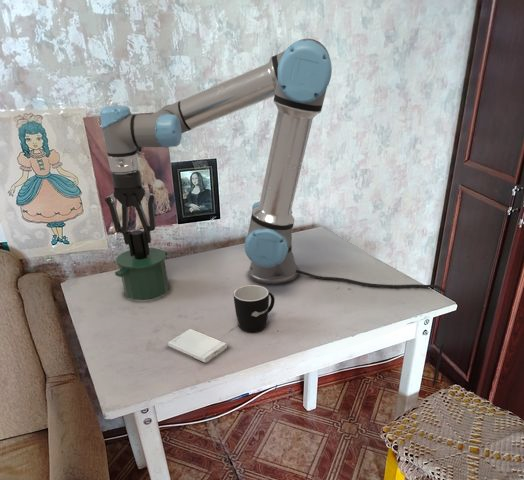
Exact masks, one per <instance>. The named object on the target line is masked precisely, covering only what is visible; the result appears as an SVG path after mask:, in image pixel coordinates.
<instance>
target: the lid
mask: <svg viewBox="0 0 524 480" xmlns="http://www.w3.org/2000/svg"><path fill="white" fill-rule="evenodd" d="M142 233H143V230H141V229H134V230H131V232H130V236H131V241H132V246H133V252H134V256H131V254H130V249H129V250H126V251H124V252H122V253H120V254H119V255H117V257H116V259H115V262H116V265H117V266H118V267H119V266H120V267H123V268H127V269H143V268H148V267H152V266H155V265H158V264H160V263H161V262H163V261H164V260H165V261H166V257H167V255H165V252H166V251H165V250H162V249H159V248H155V247H149V251H150V252H149V255H146V252H145V247H144V241H143V235H142ZM164 251H165V252H164Z"/></svg>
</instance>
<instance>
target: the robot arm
mask: <svg viewBox="0 0 524 480" xmlns="http://www.w3.org/2000/svg"><path fill="white" fill-rule="evenodd" d="M332 71H333V66H332V61H331V57H330V54H329V52H328V50H327V48H326V47H325V45H324V44H323V43H321V42H320V41H318V40H316V39H312V38H301V39H299V40H297V41H295V42H293V43H291V44H290V45H288V47H287V48H286V49H284V50H283V51H281V52H279V53H276V54H275V55H273V56H271V57H270V58H269V60H268V63H264V64H262V65H260V66H258V67H255V68H253V69H251V70H249V71H246V72H244V73H242V74H239V75H237V76H235V77H232V78H230V79H228V80H225V81H223V82H221V83H218V84H216V85H213V86H211V87H209V88H206V89H204V90H202V91H199V92H197V93H195V94H192V95H190V96H188V97H185V98H183V99H181V100H179V101H176V102H174V103H171V104H167V105H165V106H163V107H161V109H159V110H157V111H155V112H154V113H151V114H132V112H131V109H130V107H129V106H128V105H121V104H119V105H116V104H115V105H108V106H103V107H102V108H101V109H100V111H99V116H100V123H101V130H102V134H103V139H104V144H105V148H106V154H107V160H108V165H109V170H110V171H111V172H112V173H111V174H110V175H111V180H112V187H113V192H112V193H111V194H110V195H109V194H108V195H106V197H105V198H104V201H105V203H106V205H107V206H108V208H109V212H110V215H111V219H112V223H113V226H114V231H115V232H116V233H117V234H118V233H121V234H122V236H123V240H124V241H123V242H124V245H125V246H127V245H128V248H129V250H130V254H131V256H134V252H133V246H132V241H131V236H130V232H132V230H129V208H130V207H133V208H135V210H136V213H137V215H138V218H139V220H140V223H141V226H142V229H143V230H142V231H143V233H142V235H143V241H144V247H145V252H146V255H149V252H150V251H149V248H150V245H149V244H151V243H152V236H151V232H152V231H155V229H156V226H157V225H156V216H155V205H154V203H155V202H154V201H155V197H156V194H155V193H154V192H147V191H146V189H145V188H144V186H143V181H142V174H141V171H140V170H139V169H140V162H139V156H138V150H137V148H165V149H168V148H172V147H173V148H174V147H178V146H179V145H180V144H181V142H182V135H183V134H184V133H187V132H189V131H192V130H193V129H196V128H198V127H201V126H203V125H207V124H208V123H212V122H213V121H216V120H218V119H220V118H224V117H226V116H228V115H231V114H234V113H237V112H239V111H242V110H243V109H246V108H248V107H251V106H253V105H256V104H258V103H261V102H263V101H266V100H269V99H272V98H273V103H274V105H275V106H276V108H277V114H276V119H275V123H274V129H273V134H272V138H271V145H270V149H269V155H268V158H267V164H266V169H265V174H264V179H263V184H262V189H261V193H260V200H259V201H257V202H254V203H253V204H252V208H251V216H250V221H249V226H248V231H247V236H246V238H245V240H244V252H245V255H246V256H247V258H248V260H250V265H249V270H248V272H249V277H250V279H251V280H252V281H254V282H256V283H259V284H263V285H282V284H286V283H289V282H292V281H293V280H295V279H296V278H297V277H298V274H300V275H304V276H307V277H310V278H314V279H318V280H327V281H340V282H345V283H346V282H347V283H352V284H356V285H360V286H364V287H365V286H367V287H375V288H388V289H389V288H393V289H402V288H403V289H404V288H421V289H422V288H425V289H426V288H427V289H429V288H431V289H437V290H439V291H440V292H441V293H445V294H446V293H447V292H446V290H445V289H444V288H443V287H441V286H440V285H437V284H418V283H417V284H416V283H415V284H413V283H412V284H383V283H382V284H380V283H371V282H370V283H369V282H364V281H359V280H354V279H350V278H344V277H338V276H337V277H336V276H322V275H315V274H312V273H309V272H307V271H302V270H298V265H297V263H296V260H295V257H294V253H293V249H292V247H293V246H292V245H293V244H292V243H293V241H292V239H293V238H292V237H293V236H292V234H293V233H292V232H293V229H294V223H295V217H294V216H293V211H292V210H293V209H292V208H293V204H294V200H295V196H296V191H297V188H298V183H299V180H300V175H301V172H302V171H301V170H302V166H303V162H304V157H305V154H306V149H307V146H308V141H309V136H310V132H311V128H312V124H313V121H314V118H315V117H316V116H318V115H319V114H321V112H322V109H323V105H324V101H325V97H326V93H327V89H328V86H329V85H330V83H331V78H332V73H333V72H332ZM144 197H145V200H146V202H147V207H148V208H147V209H148V219H149V222H148V219H147V217H146V214H145V211H144V208H143V205H142V201H143V199H144ZM116 200H117V201H118V202H119V203H120V204H121V221H120V218H119V217H120V216H119V214H118V211H117V206H116ZM444 346H445V343H443V344H442V345H441V346H440V348H439V353H438V357H437V360H436V365H435V369H434V374H433V375H434V376H433V380H432V386H433V387H434V386H436V383H437V379H438V373H439V368H440V364H441V359H442V356H443V351H444Z"/></svg>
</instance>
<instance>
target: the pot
mask: <svg viewBox="0 0 524 480" xmlns="http://www.w3.org/2000/svg"><path fill="white" fill-rule="evenodd" d="M163 251H164V252H165V255H166V256H168V251H165V250H163ZM165 261H166V259H165V260H164V261H163V262H161V263H160V264H158V265H155V266H152V267H148V268H143V269H127V268H123V267H120V266H119V265H118V268H119V270H117V271H115V272H114V274H115V275H114V276H117V277H120V278H121V282H122V286H123V291H124V295H125V296H126V297H127V298H129V299H131V300H133V301H148V300H153V299H156V298H160V297H162V296H164V295H166V293H167V292H168V291H169V287H170V285H169V280H168V273H167V266H166V262H165Z"/></svg>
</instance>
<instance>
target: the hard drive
mask: <svg viewBox="0 0 524 480" xmlns="http://www.w3.org/2000/svg"><path fill="white" fill-rule="evenodd" d="M167 344H168V347H170V348H172V349H174V350H177V351H178V352H181V353H184V354H186V355H188V356H191V357H192V358H194V359H196V360H198V361H200V362H201V363H205V364H206V363H208V362H209V361H211V360H212V359H214V358H215V357H216V356H218V355H220V354H221V353H222V352H224V351H226V350H227V348H228V343H227V342H224V341H222V340H219V339H216V338H214V337H212V336H209V335H207V334H205V333H202V332H199V331H196V330H194V329H193V328H189V329H187V330H186V331H184V332H182V333H181V334H179V335H177V336H175V338H173V339H171V340H170V341H169V342H168V343H167Z"/></svg>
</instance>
